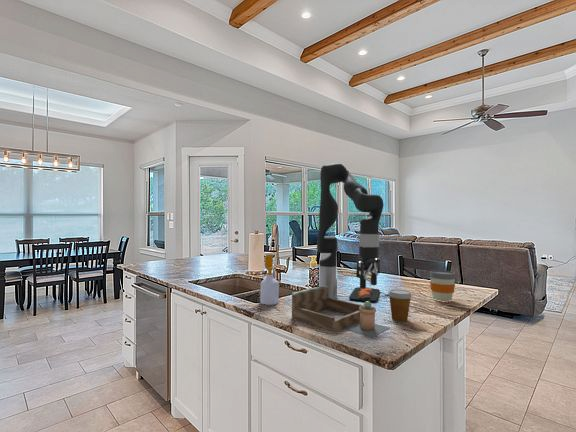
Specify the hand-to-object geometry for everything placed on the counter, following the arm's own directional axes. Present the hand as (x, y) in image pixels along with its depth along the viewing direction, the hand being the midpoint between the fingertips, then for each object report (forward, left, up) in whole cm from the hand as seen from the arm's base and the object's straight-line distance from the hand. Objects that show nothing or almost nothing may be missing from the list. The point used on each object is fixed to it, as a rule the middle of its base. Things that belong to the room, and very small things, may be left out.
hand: (368, 286), depth 125 cm
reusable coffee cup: (-68, +6, -17) cm, 70 cm away
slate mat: (0, 0, -17) cm, 17 cm away
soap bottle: (+2, -54, -17) cm, 57 cm away
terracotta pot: (0, 0, -16) cm, 16 cm away
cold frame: (0, -18, -16) cm, 24 cm away
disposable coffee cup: (-20, +4, -17) cm, 26 cm away
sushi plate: (-50, -21, -17) cm, 57 cm away
